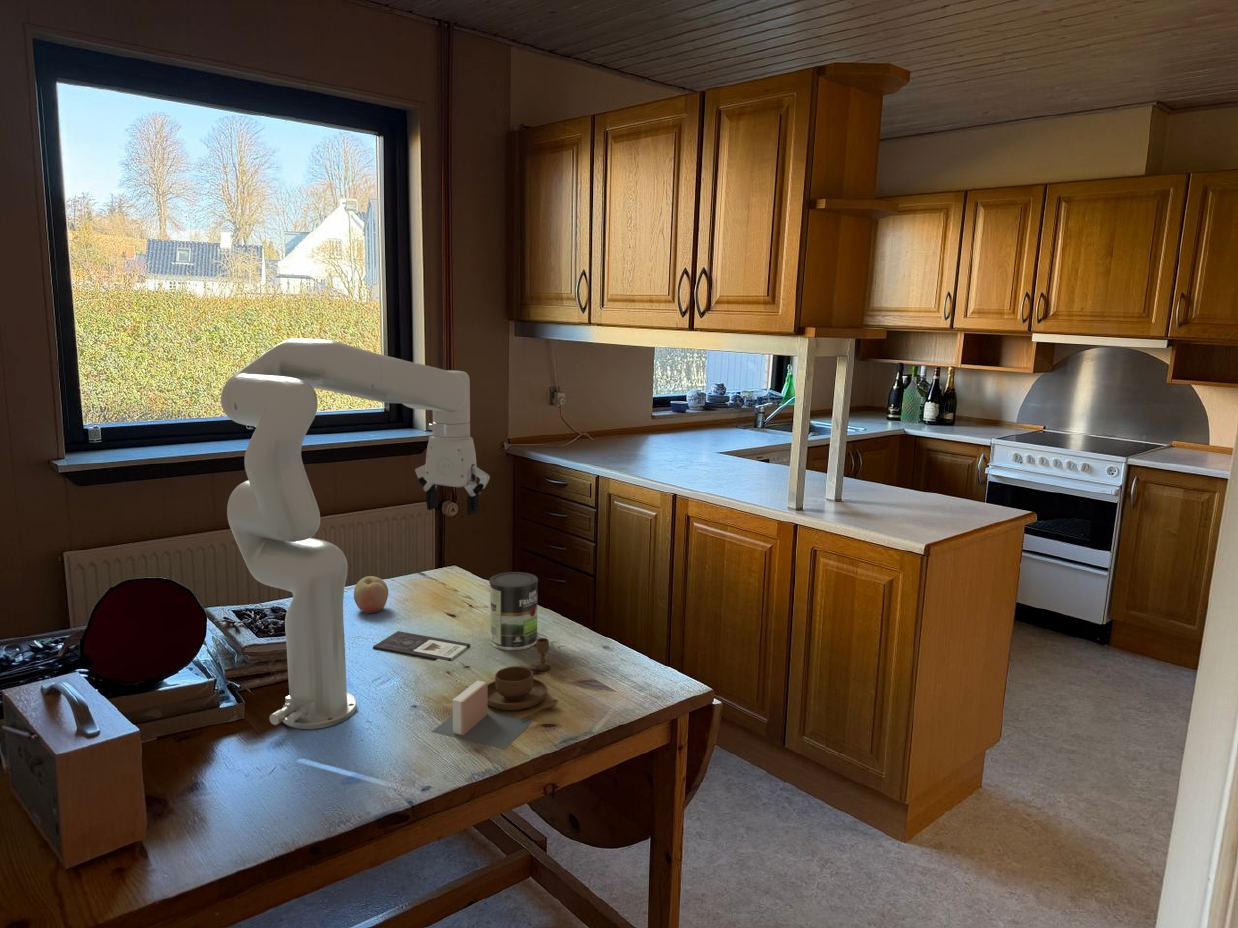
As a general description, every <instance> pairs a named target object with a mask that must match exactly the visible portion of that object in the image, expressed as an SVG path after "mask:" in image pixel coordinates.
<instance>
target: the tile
mask: <svg viewBox="0 0 1238 928" xmlns="http://www.w3.org/2000/svg"><path fill="white" fill-rule="evenodd" d="M487 684H488V682H487V681H482V680H476V681H475V682H473V683H472V684H471V685H470V686H469V687H467V688H466V689H464V690H463V691H462V692H461V693H459V694H458V695H456V697H454V698H453V699H452V715H453V733H455V734H459V735H464V734H465V733H467V732H468V731H469V730H470V729H471V728H472V727H474V726H475V725H476V724H477V723H478V722H479V721H480V720H482V719H483V718H484V717H485V716H486V715H487V714H488V711H489V709H488V708H489V707H488V706H489V705H488V689H487Z"/></svg>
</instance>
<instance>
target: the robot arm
mask: <svg viewBox="0 0 1238 928" xmlns="http://www.w3.org/2000/svg"><path fill="white" fill-rule="evenodd" d="M470 380H471V379H470V376H469V374H468V373H467V372H466V371H462V370H449V369H448V370H446V369H442V368H439V367H434V366H430V365H426V364H422V363H418V362H417V363H416V362H412V361H408V360H404V359H401V358H397V357H392V356H389V355H388V356H387V355H384V354H380V353H377V352H372V351H369V350H366V349H362V348H360V347H359V348H358V347H355V346H353V345H349V344H346V343H342V342H339V341H334V340H332V339H331V340H330V339H320V338H319V339H318V338H299V337H298V338H289V339H286V340H284V341H282V342H280V343H277V344H276V345H274V346H272V348H269V350H267V351H265V352H264V353H262V354H260V356H258V357H257V358H255V359H254V360H252V361H251V362H250V363H248V364H247V365H246V366H244V367H243V368H241V369H240V370H238V371H237V372H236V373H234V374H233V375H231V377H230V378H229V379H228V380H227V381H226V383H225V384H224V385H223V388H222V390H221V394H220V404H221V408H222V411H223V413H224V414H225V415H226V416H227V418H229V419H230V420H231V421H233V422H234V423H237V424H240V425H242V426H248V427H249V426H251V427H256V428H255V430H254V432H253V433H252V436H251V438H250V440H249V442H248V445H247V447H246V449H245V453H244V471H245V473H246V476H247V479H248V480H245V481H244V482H242V483H240V484H238V485H237V486H236V487H235V488H234V490H232V492H231V494H230V495H229V498H228V502H227V507H226V510H227V511H226V516H227V521H228V525H229V528H230V530H231V532H232V535H233V538H234V539H235V542H236V544H237V547H238V548H239V551H240V553H241V555H242V558H243V560H244V562H245V564H246V567H247V570H248V571H249V572H250V574H251V576H252V577H253V578H254V579H255V580H256V581H258V582H259V583H260V584H262V585H265V586H268V587H272V588H276V589H281V590H284V591H287V592H289V593H290V592H291V593H292V598H291V599H292V600H291V601H290V604H289V606H288V608H287V610H286V614H285V619H284V628H285V629H284V631H285V640H286V644H285V646H286V658H287V660H286V661H287V677H288V693H289V695H287V696H285V699H284V700H285V703H284V704H283V705H282V708H281V709H278V710H276V711H275V712H273V713H271V714H270V715H269V717H268V718H269V722H270V723H271V724H272V725H274V726H276V725H278V724H280V723H281V722H282V723H283V724H285V725H286V726H288V727H290V728H294V729H298V730H299V729H300V730H316V729H323V728H327V727H328V728H329V727H332V726H335V725H338V724H341V723H342V722H345V721H346V720H348V719H349V718H351V717H352V716H353V714H355V712H356V711H357V707H358V705H357V700H356V697H354V695H352V694H351V693H349V692H348V690H347V686H348V685H347V670H346V669H347V666H346V665H347V664H346V645H345V643H346V642H345V624H344V623H345V622H344V596H345V595H344V593H345V587H346V582H347V576H348V560H347V557H346V556H345V554H344V552H343V551H342V550H341V548H340V547H338V546H337V545H335V544H334V543H331V542H329V541H328V540H327V541H326V540H322V539H318V538H314V537H313V536H315V535H316V533H317V532H318V530H319V528H320V525H321V514H320V508H319V506H318V502H317V500H316V497H315V495H314V491H313V489H312V486H311V483H310V481H309V478H308V475H307V472H306V470H305V466H304V463H303V459H302V446H303V443H304V439H305V436H306V434H307V433H308V430H309V429H310V426H311V425H312V423H313V421H314V420H315V417H316V415H317V412H318V406H319V402H318V400H319V399H318V396H317V392H316V390H321V391H325V392H326V391H328V392H332V393H337V394H341V395H345V396H349V397H355V398H358V399H362V400H363V399H364V400H367V401H373V402H380V403H388V404H402V405H403V406H405V407H407V408H410V409H414V410H424V411H432V423H429V424H428V430H431V431H432V435H430V436H429V437H428V443H427V446H426V447H427V448H426V456H425V464H423V465H421V466H418V467H417V468H415V469H414V471H415V474H416V476H417V478H418V482H419V484H420V485H421V486H422V487H423V491H424V492H425V496H426V497H425V498H426V499H425V500H426V501H425V502H426V510H428V511H433V510H434V509H437V508H438V507H439V490H438V489H437V486H443V487H452V488H453V487H454V488H464V489H465V491H467V493H468V495H467V497H466V514H467V515H468V516H472V515H475V514H477V513H478V510H479V507H480V503H479V497H480V496H479V495H480V494H481V493H482V492H483V490H485V488H487V485H488V483H489V480H490V479H491V477H490V475H489V474H488V473H487V472H485V471H484V470H482V469H480V467H478V466H477V465H478V464H477V457H476V456H477V454H476V448H475V443H474V438H473V437H471V422H470V421H471V396H470V395H471V390H470V389H471V388H470V386H471V385H470V384H471V382H470ZM477 478H479V483H478V484H477ZM312 537H313V538H312Z"/></svg>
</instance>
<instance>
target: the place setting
mask: <svg viewBox="0 0 1238 928" xmlns="http://www.w3.org/2000/svg"><path fill="white" fill-rule="evenodd" d="M549 643H550V642H549V639H548V638H546V637H541V638H537V640H536V644H535V645H536V651H537V653H538V654H540V664H538V665H537V666H536V667H535V669H536V671H538V672H539V671H540V672H544V671H545V672H546V671H549V670H550V669H551V666H550V665H549V664H546V661H547V660H546V654H547V653H548V652H549V647H550V645H549ZM494 676H495V677H494V680H492V681H491V682H489V683H487V689H488V706H490V707H492V708H493V709H494V708H495V709H498V710H503V711H520V710H522V711H523V710H526V709H529V708H532V707H534V706H536V705H538V704H540V703H541V702H542V701H543V700H545V698H546V696H547V694H548V687H547V684H546V683H545V682H543V681H541V680H540V679H537V678H534V671H533V670H532V669H530V668H528V667H526V666H525V667H524V666H508V667H505V668H502V669H499V670H498V671H497V672H496V673H495V675H494ZM558 702H559V701H558V699H552V700H549V701H546V702H544V703H543V705H542V706H541V707H539V708H537V709H535V710H533V711H530V712H529V713H527V714H524V715H523V716H521V717H519V718H520V719H526V718H527V717H529V716H531V715H533V714H535V713H537V712H539V711H541V710H544V709H551V708H553V707H555V706H556V705H557V704H558Z"/></svg>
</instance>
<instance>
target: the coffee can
mask: <svg viewBox="0 0 1238 928" xmlns="http://www.w3.org/2000/svg"><path fill="white" fill-rule="evenodd" d="M538 584H539V578H538V577H537V575H535V574H533V573H528V572H522V571H507V572H501V573H497V574H495V575H493V576H491V577H490V578H489V592H490V593H489V609H490V610H489V611H490V612H489V615H490V640H489V643H490V645H491V646H492V647H494V648H496V649H499V650H503V651H521V650H522V651H523V650H527V649H529V648H532V647H534V646H535V645H536V640H537V639H538Z"/></svg>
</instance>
